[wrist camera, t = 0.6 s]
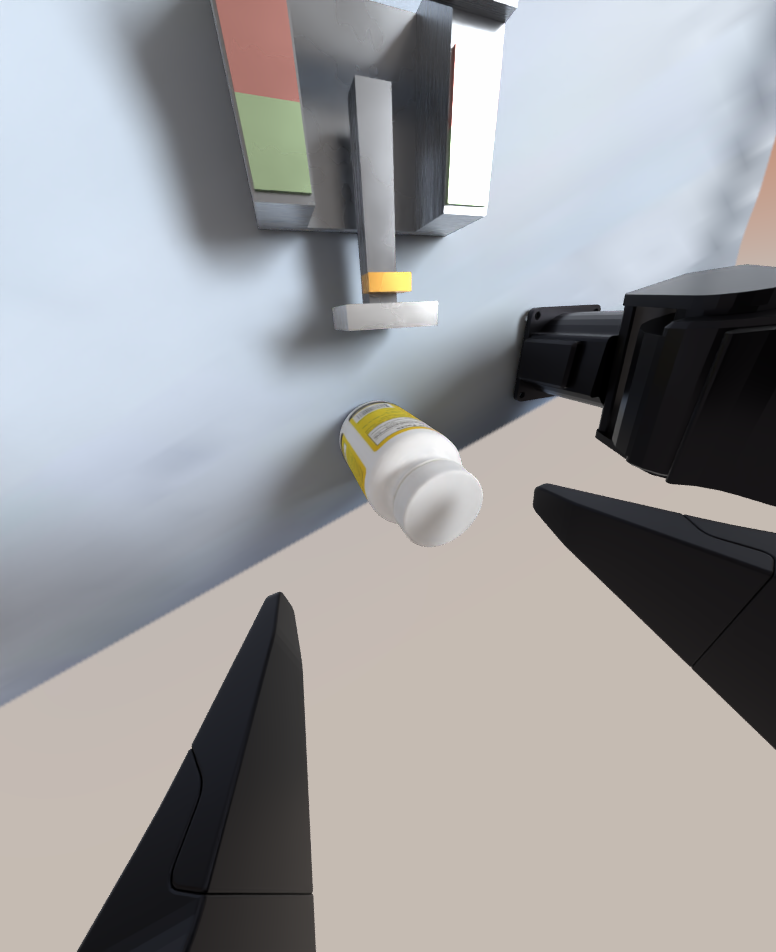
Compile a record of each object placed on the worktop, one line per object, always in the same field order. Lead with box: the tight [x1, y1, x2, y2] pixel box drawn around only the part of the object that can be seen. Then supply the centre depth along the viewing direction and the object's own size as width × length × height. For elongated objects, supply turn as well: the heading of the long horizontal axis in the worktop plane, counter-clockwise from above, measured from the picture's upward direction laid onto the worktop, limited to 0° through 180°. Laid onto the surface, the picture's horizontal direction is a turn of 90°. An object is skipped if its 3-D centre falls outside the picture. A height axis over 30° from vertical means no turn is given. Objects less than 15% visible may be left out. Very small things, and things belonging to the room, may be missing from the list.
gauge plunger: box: [332, 75, 438, 331], centre depth 12 cm, size 4×8×3 cm, turn 2°
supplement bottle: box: [339, 401, 483, 547], centre depth 16 cm, size 5×5×10 cm
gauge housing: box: [210, 0, 518, 236], centre depth 11 cm, size 10×7×4 cm
